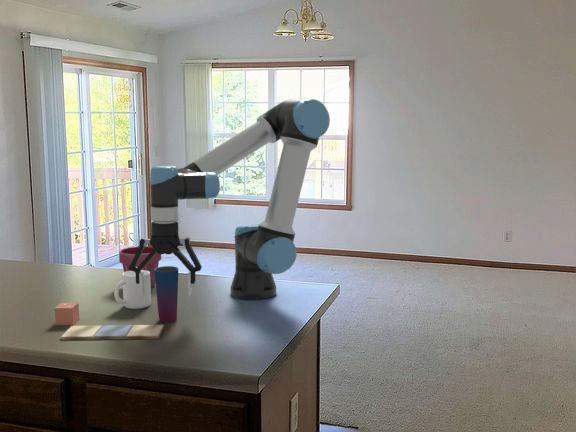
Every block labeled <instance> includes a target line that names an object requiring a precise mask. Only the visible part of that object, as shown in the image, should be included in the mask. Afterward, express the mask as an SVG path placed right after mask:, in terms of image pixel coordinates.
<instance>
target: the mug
mask: <svg viewBox="0 0 576 432" xmlns="http://www.w3.org/2000/svg"><path fill="white" fill-rule="evenodd" d="M141 271H144V294H143V296H140V286H139V284H136V274H135V272H134V271H127V272H124V271H123V272H122V280H120V281H119V282H118V283H117V284H116V285H115V288H114V299H115V301H116V302H117V303H119V304H120V305H123V306H124V307H125V308H126V309H131V310H139V309H145V308H148V307H150V305H151V303H152V293H151V292H152V291H151V289H152V287H150V272H149V271H146V270H141ZM121 287H122V297H123V299H122V298H121V297H120V289H121Z"/></svg>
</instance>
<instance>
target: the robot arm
mask: <svg viewBox="0 0 576 432" xmlns="http://www.w3.org/2000/svg"><path fill="white" fill-rule="evenodd" d="M330 119H331V118H330V114H329V111H328V109H327V107H326V105H325V104H324V103H322V102H321V101H320V100H318V99H316V98H315V99H314V98H308V97H303V98H295V99H294V98H292V99H286V100H284V101H281V102H280V103H278V104H277V105H275V106H273V107H272V108H270V109H268V110H267V111H266V112H264V113H262V115H261V114H260V115H259V116H258V117H256V121H255V123H253V124H251V125H250V126H248V127H246V128H245V129H244V130H242V131H240V132H239V133H236V135H234V136H232V137H231V138H229V139H227V140H226V141H224V142H222V143H221V144H219V145H218V146H216V147H215V148H213V149H211V150H209V151H208V152H206V153H205V154H203V155H202V156H200V157H198V158H197V159H196V160H194V161H193V162H190V163H189V164H187V165H185V166H184V167H180V168H178V167H177V166H175V165H156V166H153V167H152V168H150V175H149V176H150V177H149V178H150V179H149V188H150V189H149V190H150V220H151V221H152V222H151V223H150V232H151V234H150V238H146V237H145V236H144V237H141V238H140V240H139V246H138V247H139V248H138V250H137V252H136V254H135V256H134V258H133V260H132V262H131V264H130V266H129V270H130V271H134V272H135V274H136V284H139V286H140V296H143V294H144V271H141V269H142V268H143V267H144V266H145V265H146V264H147V262H148V261H149V260H150V259H151V258H152V256H153V255H154V254H155V253H156V252H157V253H158V254H161V255H164V254H165V255H172V254H173V255H174V256H175V257H176V258H177V259H178V260H179V261H180V262H181V263H182V264H183V265H184V266H185V268H186V269H187V270H188V272H187V296H188V297H192V293H193V292H192V291H193V289H192V287H193V285H194V284H195V283H196V273H197V272H200V271H201V270H202V267H203V266H202V265H201V262H200V260H199V259H198V257H197V254H196V253H195V251H194V249H193V247H192V245H191V239H190V238H189V237H185V238H180V237H179V222H178V220H179V200H196V199H197V200H198V199H199V200H200V199H203V200H204V199H205V200H208V199H214V198H217V197H218V196H219V194H220V189H221V184H220V183H221V182H220V179H219V176H218V175H220V174H222V173H224V172H225V171H227V170H228V169H229V168H231V167H233V166H234V165H236V164H238V163H239V162H241V161H242V160H243V159H246V158H247V157H248V156H250V155H252V154H253V153H255V152H256V151H258V150H260V149H261V148H262V147H264V146H266V145H267V144H275V143H277V142H278V141H280V140H281V142H282V144H283V146H282V149H281V154H280V158H279V161H278V166H277V170H276V175H275V179H274V180H273V181H274V182H273V187H272V190H271V194H270V199H269V203H268V207H267V210H266V214H265V219H264V220H263V221H261V222H260V223H258V224H246V225H239V226H237V227H235V229H234V257H235V258H234V259H235V261H234V262H235V263H234V264H235V272H234V275H233V278H232V281H231V284H230V295H231V296H232V297H233V298H237V299H241V300H263V299H264V300H265V299H268V298H272V297H274V296H275V295H277V286H276V285H277V284H276V282H275V280H274V279H275V278H274V275H280V274H283V273H285V272H287V271H288V270H290V269H291V268H292V266H293V265H294V263H295V262H296V259H297V256H298V255H297V254H298V253H297V248H296V245H295V243H294V240H295V237H296V232H295V230H294V229H293V224H294V219H295V217H296V212H297V208H298V203H299V199H300V195H301V193H302V192H301V191H302V189H303V188H302V187H303V183H304V179H305V175H306V171H307V167H308V164H309V160H310V155H311V152H312V151H313V150H315V149H316V148H317V147H318V144H319V140H320V138H321V137H322V136H323V135H325V134H326V133H327V132H328V129H329V128H330V124H331V123H330V122H331V120H330ZM149 244H150V246H152V247H153V248H154V249H153V250H152V251H151V252H150V253H149V255H148V256H147V257H146V258H145V259H144V260H143V262H142V263H141V264H140V265H139V266H138V267H136V264H137V262H138V260H139V258H140V256H141V254H142V252H143V249H144V247H145V246H148V245H149ZM180 244H181V245H182V247H185V249H186V251H187V254H188V256H189V259H191V261H192V262H190V260H189V259H188V258H187V257H186V256H185V255H184V253H183V252H182V251H181V250H180V248H179V247H178V246H179V245H180ZM192 263H193V264H192Z"/></svg>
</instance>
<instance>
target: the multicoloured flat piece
mask: <svg viewBox="0 0 576 432" xmlns="http://www.w3.org/2000/svg"><path fill="white" fill-rule="evenodd" d="M164 329H165V325H164V324H133V325H132V324H119V325H118V324H116V325H115V324H114V325H111V324H110V325H108V324H107V325H103V324H102V325H70V327H69V328H68V329H67V330H66V331H65V332H64V333H63V334H62V335H61V337H59V338H60V341H70V340H71V341H74V340H75V341H78V340H81V341H85V340H87V341H88V340H89V341H90V340H91V341H92V340H146V339H147V340H151V339H153V340H154V339H156V340H159V339H160V337H161V335H162V333H163V331H164Z"/></svg>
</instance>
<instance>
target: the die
mask: <svg viewBox="0 0 576 432" xmlns="http://www.w3.org/2000/svg"><path fill="white" fill-rule="evenodd" d="M79 305H80V304H79V302H60V303H59V304H58V305H56V306H55V307H54V317H55V318H54V319H55V326H75V325H76V323H77V322H78V321H79V320H80V306H79Z"/></svg>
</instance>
